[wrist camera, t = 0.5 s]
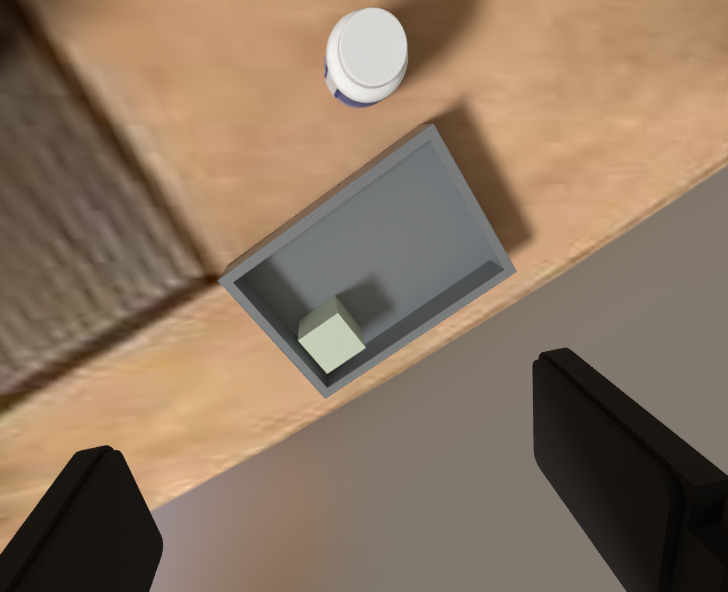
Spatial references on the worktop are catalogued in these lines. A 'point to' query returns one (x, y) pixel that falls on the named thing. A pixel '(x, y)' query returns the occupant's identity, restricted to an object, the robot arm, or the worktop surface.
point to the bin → (374, 257)
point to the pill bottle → (365, 57)
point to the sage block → (330, 334)
